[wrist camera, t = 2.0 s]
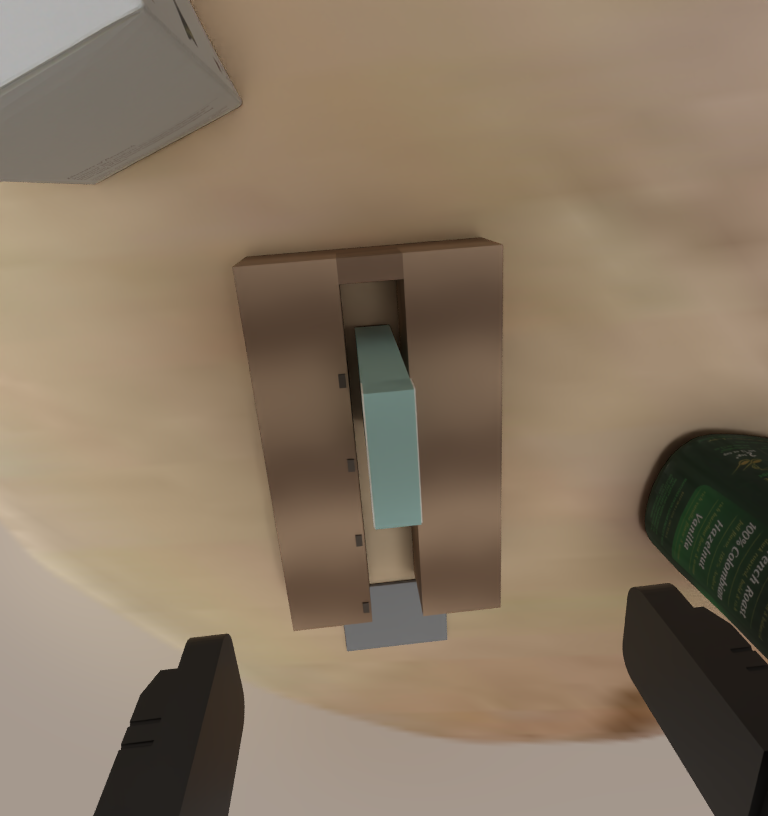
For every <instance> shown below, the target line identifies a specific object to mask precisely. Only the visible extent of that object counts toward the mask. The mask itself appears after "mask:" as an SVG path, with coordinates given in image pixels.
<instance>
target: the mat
mask: <svg viewBox="0 0 768 816" xmlns="http://www.w3.org/2000/svg"><path fill="white" fill-rule="evenodd" d="M369 586H370V598H371V610H372V622H368V623H359V624H350V625H344V628H345V636H346V644H347V651H354V650H363V649H371V648H380V647H389V646H397V645H406V644H414V643H423V642H432V641H440V640H447V621H446V614H438V615H429V616H423V612H422V607H421V603H420V598H419V593H418V588H417V583H416V580H407V581H398V582H389V583H380V584H371V585H369Z"/></svg>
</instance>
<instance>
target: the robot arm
mask: <svg viewBox="0 0 768 816" xmlns="http://www.w3.org/2000/svg"><path fill="white" fill-rule="evenodd" d="M623 657H624V661H625V665H626V668H627V671H628V673H629V675H630V678H631V679H632V681H633V683H634V684H635V686H636V688H637V689H638V691H639V693H640V694H641V696H642V698H643V699H644V701H645V702H646V704H647V706H648V707H649V709H650V711H651V712H652V714H653V716H654V717H655V719H656V720H657V722H658V724H659V725H660V727H661V729H662V730H663V732H664V734H665V735H666V737H667V738H668V740H669V742H670V743H671V745H672V747H673V748H674V750H675V752H676V753H677V755H678V756H679V758H680V760H681V761H682V763H683V765H684V766H685V768H686V770H687V771H688V773H689V774H690V776H691V778H692V779H693V781H694V782H695V784H696V786H697V788H698V789H699V791H700V793H701V794H702V796H703V797H704V799H705V801H706V802H707V804H708V806H709V807H710V809H711V811H712V812H713V814H714V815H715V816H768V664H767V663H766V662H765V661H764V660H763V659H762V657H761V656H760V655H759V654H758V653H757V652H756V651H753V650H752V648H751V645H750V644H749V643H748V642H747V641H746V640H745V639H744V638H743V637H742V636H741V635H740V634H739V632H738V631H737V630H736V629H735V628H734V627H733V626H732V625H731V624H730V623H728V622H727V621H725V620H724V619H722V618H720V617H719V616H717V615H716V614H714V613H713V612H711V611H709V610H708V609H706V608H705V607H697V608H693V606H692V605H691V604H690V603H689V602H688V601H687V599H686V598H685V597H684V596H683V595H682V594H681V593H680V591H679V590H678V589H677V588H676V587H675V586H674V585H672V584H670V583H665V584H657V585H648V586H640V587H633V588H631V589H630V590H629V592H628V597H627V607H626V616H625V626H624V636H623ZM243 724H244V694H243V688H242V683H241V679H240V674H239V670H238V665H237V661H236V656H235V652H234V647H233V643H232V639H231V636H230V635H229V634H220V635H211V636H203V637H194V638H190V639H189V640H188V641H187V643H186V645H185V648H184V651H183V654H182V657H181V660H180V663H179V666H178V668H177V669H168V670H160V672H159V673H158V674H157V675H156V676H155V678H154V679H153V680H152V681H151V683H150V684H149V685H148V686H147V688H146V689H145V690H144V691H143V692H142V694H141V695H140V697H139V700H138V702H137V705H136V708H135V710H134V713H133V715H132V718H131V720H130V727H128V728H127V731H126V733H125V736H124V738H123V741H122V743H121V750H119V751H118V754H117V756H116V759H115V761H114V764H113V767H112V769H111V772H110V774H109V777H108V780H107V782H106V785H105V787H104V790H103V792H102V795H101V797H100V800H99V803H98V805H97V808H96V811H95V813H94V815H93V816H228V813H229V807H230V801H231V795H232V790H233V784H234V778H235V772H236V766H237V760H238V755H239V749H240V743H241V737H242V731H243Z"/></svg>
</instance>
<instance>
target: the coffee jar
mask: <svg viewBox="0 0 768 816" xmlns="http://www.w3.org/2000/svg"><path fill="white" fill-rule="evenodd" d="M645 529H646V532H647V535H648V537H649V539H650V540H651V542H652V543H653V544H654V545H655V546H656V548H657V549H658V550H659V551H660V552H661V553H662V554H663V555H664V556H665V557H666V558H667V559H668V560H669V561H670V562H671V563H672V565H673V566H674V567H675V568H676V569H677V570H678V571H679V572H680V573H681V574H682V575H683V576H684V577H685V578H686V579H688V580H689V581H690V582H691V583H692V584H693V585H694V586H695V587H696V588H697V589H698V590H699V591H700V592H701V593H702V594H703V595H704V596H705V597H706V598H707V599H708V600H709V601H710V602H711V603H712V604H713V605H714V606H715V607H716V608H718V609H719V610H720V611H721V612H722V613H723V614H724V615H725V616H726V617H727V618H728V619H729V620H730V621H731V622H732V623H733V624H734V625H735V626H736V627H737V628H738V629H739V630H740V631H741V632H742V633H743V635H744V636H745V637H746V638H747V639H748V640H749V641H750V642H751V643H752V644H753V645H754V646H755V647H756V648H757V649H758V650H759V651H760V652H761V653H762V654H763V655H764V656H765V657H766V658H767V659H768V438H762V437H756V436H748V435H736V434H711V435H705V436H700V437H697V438H695V439H692V440H690V441H689V442H688V443H686V444H684V445H683V446H681V447H680V448H679V449H678V450H677V451H676V452H675V453H674V454H673V455H672V456H671V457H670V458H669V460H668V461H667V463H666V464H665V465H664V467H663V468H662V469H661V471H660V473H659V475H658V477H657V479H656V481H655V483H654V485H653V488H652V490H651V494H650V496H649V499H648V503H647V508H646V514H645Z"/></svg>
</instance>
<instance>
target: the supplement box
mask: <svg viewBox="0 0 768 816" xmlns="http://www.w3.org/2000/svg"><path fill="white" fill-rule="evenodd" d="M241 104H242V100H241V98H240V96H239V94H238V92H237V91H236V89H235V87H234V85H233V83H232V82H231V80H230V78H229V76H228V74H227V73H226V71H225V69H224V67H223V65H222V63H221V61H220V60H219V58H218V56H217V54H216V52H215V50H214V48H213V46H212V44H211V42H210V40H209V38H208V36H207V34H206V32H205V31H204V29H203V27H202V25H201V23H200V21H199V19H198V17H197V15H196V13H195V11H194V9H193V7H192V5H191V3H190V1H189V0H0V181H7V182H36V183H66V184H96V183H98V182H100V181H102V180H104V179H106V178H107V177H109V176H111V175H113V174H115V173H117V172H119V171H121V170H122V169H124V168H126V167H128V166H130V165H132V164H133V163H135V162H137V161H139V160H141V159H143V158H145V157H147V156H149V155H151V154H152V153H154V152H156V151H158V150H159V149H161V148H163V147H165V146H167V145H169V144H171V143H173V142H174V141H176V140H178V139H180V138H182V137H184V136H186V135H188V134H190V133H191V132H193V131H195V130H197V129H199V128H201V127H203V126H205V125H207V124H208V123H210V122H212V121H214V120H216V119H218V118H220V117H221V116H223V115H225V114H227V113H229V112H230V111H232V110H234V109H236V108H238V107H239V106H240V105H241Z"/></svg>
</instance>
